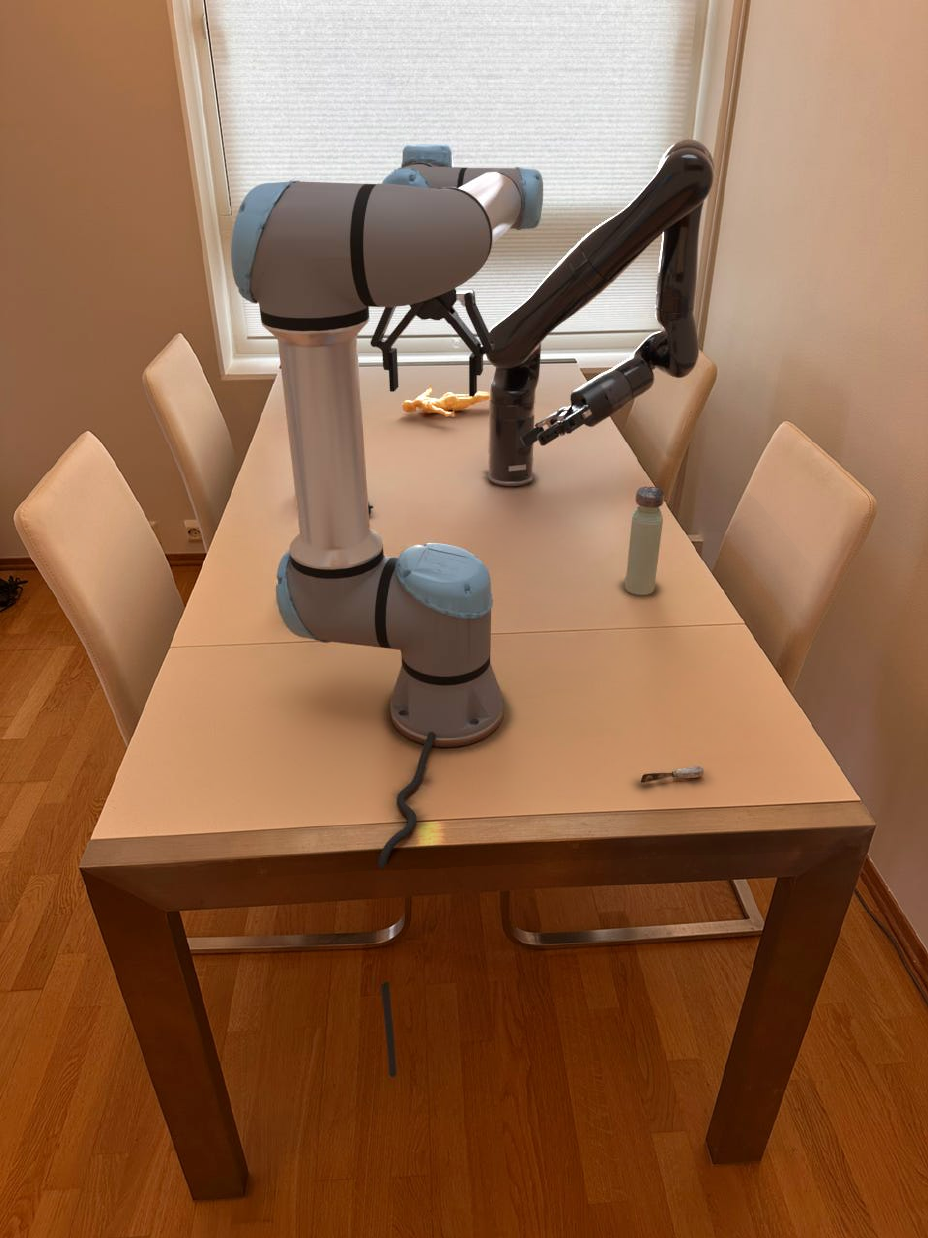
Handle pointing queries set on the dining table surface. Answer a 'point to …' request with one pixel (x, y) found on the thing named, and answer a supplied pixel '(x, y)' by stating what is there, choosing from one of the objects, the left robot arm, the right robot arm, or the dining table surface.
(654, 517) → the bottle
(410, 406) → the human figure
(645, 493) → the cap
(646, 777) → the putty knife
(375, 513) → the dining table surface
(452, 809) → the dining table surface
